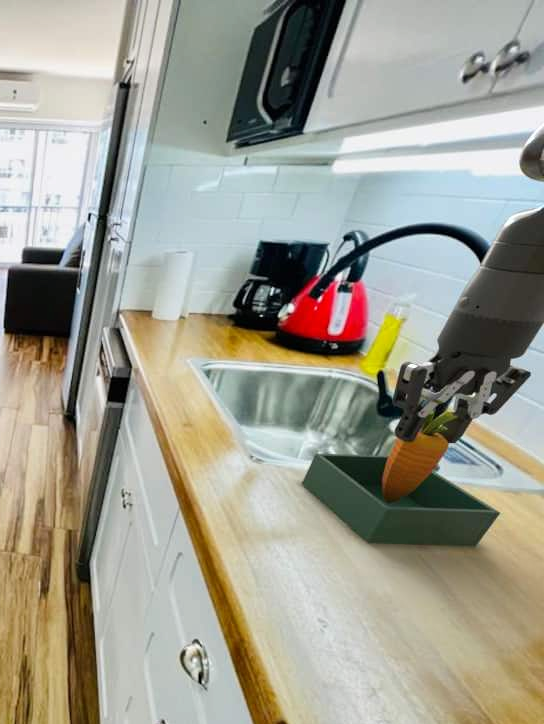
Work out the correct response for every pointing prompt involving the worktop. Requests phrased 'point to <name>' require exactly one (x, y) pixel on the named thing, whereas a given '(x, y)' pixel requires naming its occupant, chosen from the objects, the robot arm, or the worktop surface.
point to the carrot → (415, 458)
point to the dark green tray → (397, 504)
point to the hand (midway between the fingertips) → (424, 439)
